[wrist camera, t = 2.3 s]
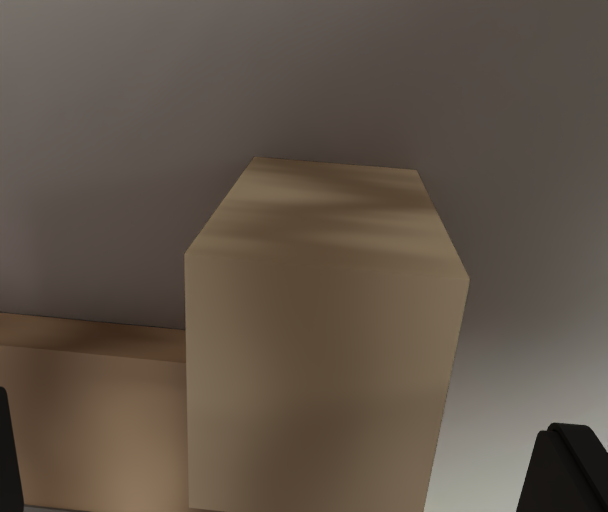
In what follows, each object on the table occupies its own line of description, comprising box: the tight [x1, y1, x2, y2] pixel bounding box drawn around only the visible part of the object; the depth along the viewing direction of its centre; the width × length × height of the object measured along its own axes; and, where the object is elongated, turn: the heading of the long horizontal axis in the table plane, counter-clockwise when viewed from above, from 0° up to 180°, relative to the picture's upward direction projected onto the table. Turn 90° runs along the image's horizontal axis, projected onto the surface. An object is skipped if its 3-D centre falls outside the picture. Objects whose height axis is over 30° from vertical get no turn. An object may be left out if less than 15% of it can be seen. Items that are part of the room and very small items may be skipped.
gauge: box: [184, 157, 470, 512], centre depth 16 cm, size 5×14×8 cm, turn 176°
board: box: [0, 313, 225, 512], centre depth 21 cm, size 24×12×2 cm, turn 86°
